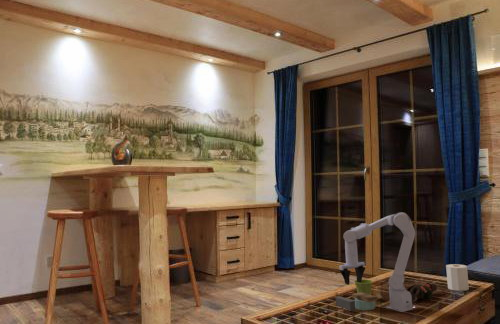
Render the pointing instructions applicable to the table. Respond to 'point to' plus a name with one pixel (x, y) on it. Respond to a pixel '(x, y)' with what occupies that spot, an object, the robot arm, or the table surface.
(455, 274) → the toilet paper
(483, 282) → the table surface
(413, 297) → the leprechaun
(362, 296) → the walnut board
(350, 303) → the grey rectangular block
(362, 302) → the bowl
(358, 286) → the plant pot
